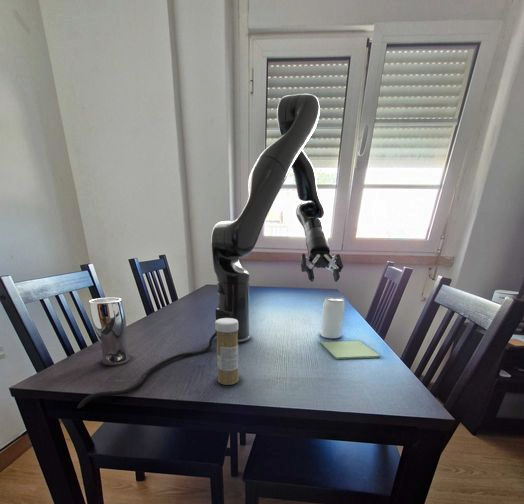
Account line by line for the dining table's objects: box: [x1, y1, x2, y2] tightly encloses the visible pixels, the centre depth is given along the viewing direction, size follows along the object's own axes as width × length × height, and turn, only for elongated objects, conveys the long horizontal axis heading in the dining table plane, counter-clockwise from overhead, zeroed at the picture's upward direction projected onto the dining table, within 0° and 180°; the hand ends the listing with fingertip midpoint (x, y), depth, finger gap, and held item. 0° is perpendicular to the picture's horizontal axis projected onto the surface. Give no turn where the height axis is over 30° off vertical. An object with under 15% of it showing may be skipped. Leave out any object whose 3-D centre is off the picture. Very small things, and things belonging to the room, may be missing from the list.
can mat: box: [321, 340, 381, 360], centre depth 79 cm, size 12×12×1 cm
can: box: [320, 296, 346, 340], centre depth 89 cm, size 6×6×12 cm
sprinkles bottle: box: [214, 318, 240, 386], centre depth 58 cm, size 5×5×13 cm
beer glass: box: [88, 297, 131, 366], centre depth 67 cm, size 7×7×15 cm
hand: (324, 280), depth 95 cm, fingers open, 8 cm apart
